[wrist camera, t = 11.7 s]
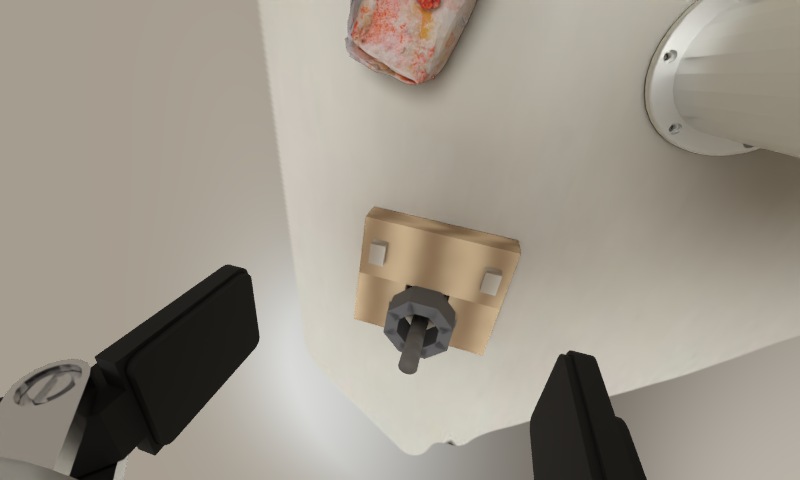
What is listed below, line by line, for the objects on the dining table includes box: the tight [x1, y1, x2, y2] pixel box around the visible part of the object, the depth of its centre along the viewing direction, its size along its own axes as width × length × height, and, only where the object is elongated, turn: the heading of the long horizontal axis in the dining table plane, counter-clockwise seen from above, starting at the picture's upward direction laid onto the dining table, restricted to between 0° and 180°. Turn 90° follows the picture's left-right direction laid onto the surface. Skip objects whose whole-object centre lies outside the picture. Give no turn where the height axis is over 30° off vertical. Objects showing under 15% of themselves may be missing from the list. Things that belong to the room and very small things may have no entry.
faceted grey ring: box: [384, 286, 456, 359], centre depth 37 cm, size 7×7×3 cm
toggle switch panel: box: [354, 207, 521, 374], centre depth 35 cm, size 16×14×11 cm
